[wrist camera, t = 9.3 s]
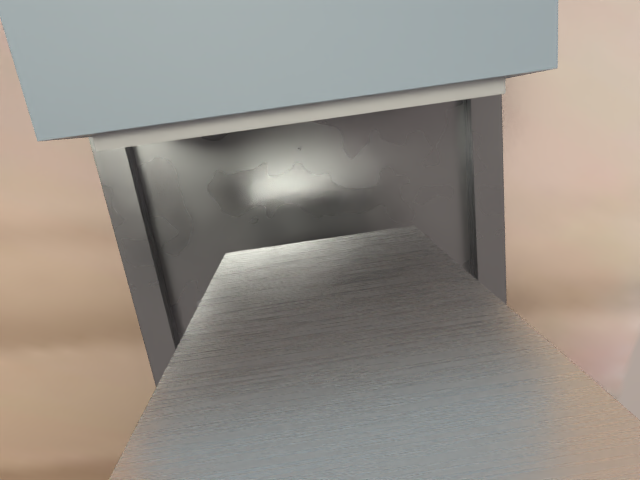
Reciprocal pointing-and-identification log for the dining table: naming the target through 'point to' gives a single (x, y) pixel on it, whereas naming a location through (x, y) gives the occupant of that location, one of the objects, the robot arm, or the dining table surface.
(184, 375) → the steel block
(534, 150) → the dining table surface
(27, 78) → the block
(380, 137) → the vise body
